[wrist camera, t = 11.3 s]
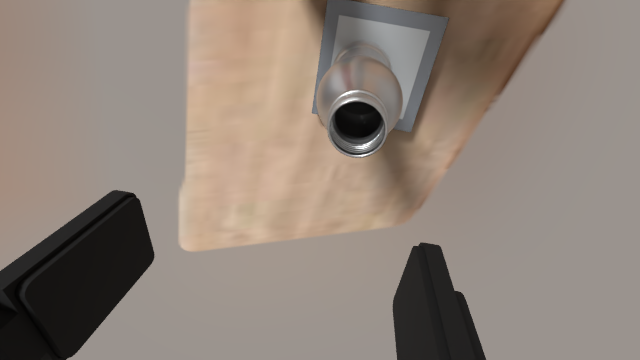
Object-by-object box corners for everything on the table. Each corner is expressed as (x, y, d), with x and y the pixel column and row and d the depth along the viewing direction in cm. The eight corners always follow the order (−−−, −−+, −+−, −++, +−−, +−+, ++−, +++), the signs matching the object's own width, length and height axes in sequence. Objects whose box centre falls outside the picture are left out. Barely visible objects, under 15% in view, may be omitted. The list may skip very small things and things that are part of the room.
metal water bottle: (349, 106, 36) (334, 193, 19) (324, 55, 34) (281, 103, 17) (399, 82, 34) (430, 156, 17) (376, 25, 32) (387, 46, 15)
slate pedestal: (330, -3, 33) (327, -4, 31) (443, 17, 33) (449, 17, 30) (314, 107, 40) (311, 113, 38) (408, 125, 39) (410, 132, 37)
